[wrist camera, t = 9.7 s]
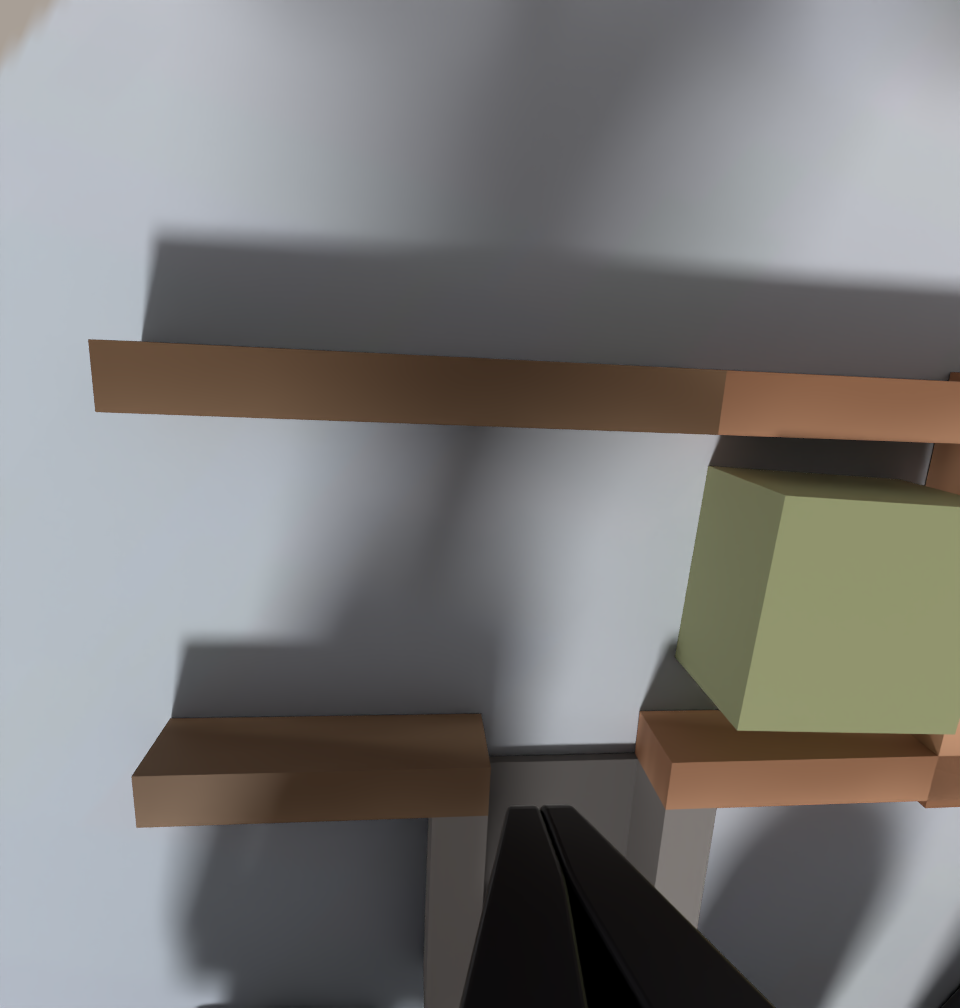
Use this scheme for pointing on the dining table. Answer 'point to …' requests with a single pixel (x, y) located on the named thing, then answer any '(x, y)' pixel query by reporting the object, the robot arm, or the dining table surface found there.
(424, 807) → the walled lane
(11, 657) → the dining table surface
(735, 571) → the olive block
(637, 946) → the robot arm
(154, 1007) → the dining table surface
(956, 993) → the small box
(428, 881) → the trap pit
